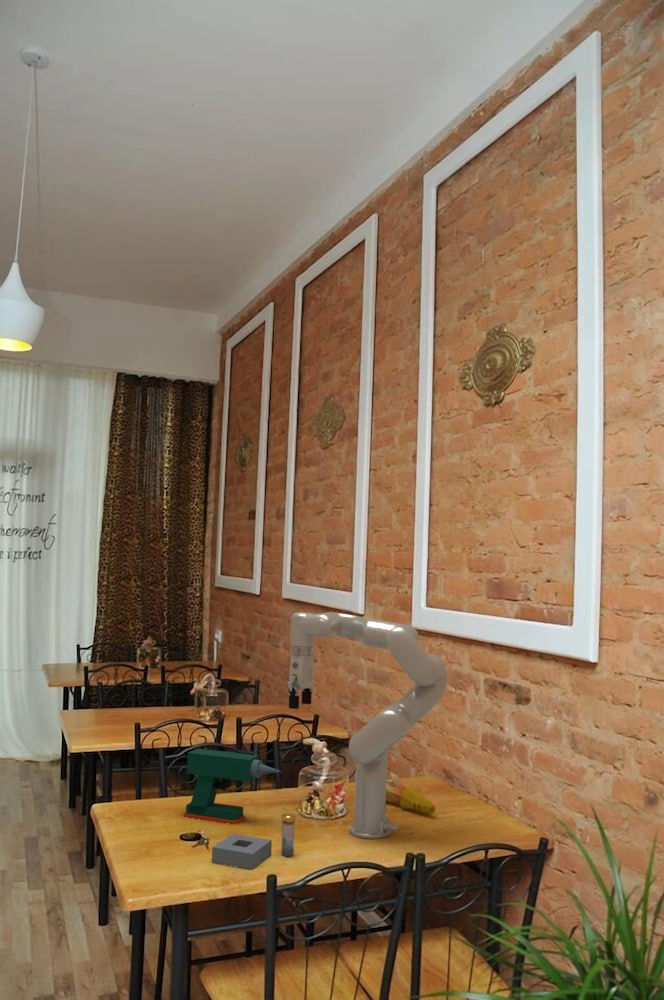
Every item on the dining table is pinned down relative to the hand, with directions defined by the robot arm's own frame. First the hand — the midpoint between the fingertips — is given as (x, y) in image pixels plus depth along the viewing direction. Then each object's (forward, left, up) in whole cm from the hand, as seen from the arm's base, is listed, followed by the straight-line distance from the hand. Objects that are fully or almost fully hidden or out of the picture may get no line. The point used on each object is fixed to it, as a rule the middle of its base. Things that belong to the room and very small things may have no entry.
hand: (300, 706), depth 252 cm
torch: (-28, -29, -36) cm, 54 cm away
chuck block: (+1, +35, -36) cm, 50 cm away
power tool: (+18, +7, -36) cm, 41 cm away
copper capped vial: (-9, +27, -36) cm, 45 cm away
